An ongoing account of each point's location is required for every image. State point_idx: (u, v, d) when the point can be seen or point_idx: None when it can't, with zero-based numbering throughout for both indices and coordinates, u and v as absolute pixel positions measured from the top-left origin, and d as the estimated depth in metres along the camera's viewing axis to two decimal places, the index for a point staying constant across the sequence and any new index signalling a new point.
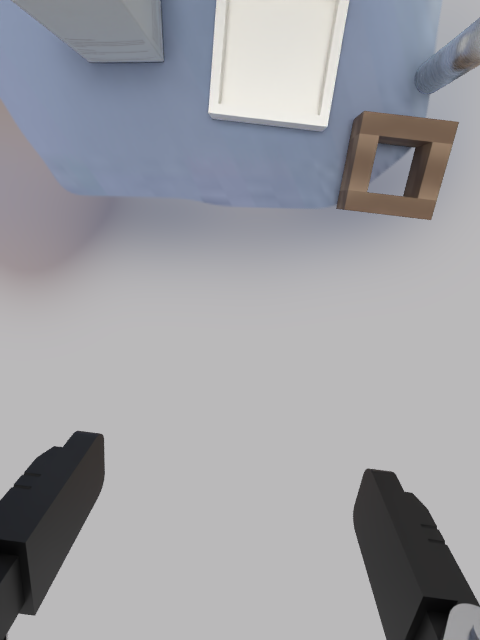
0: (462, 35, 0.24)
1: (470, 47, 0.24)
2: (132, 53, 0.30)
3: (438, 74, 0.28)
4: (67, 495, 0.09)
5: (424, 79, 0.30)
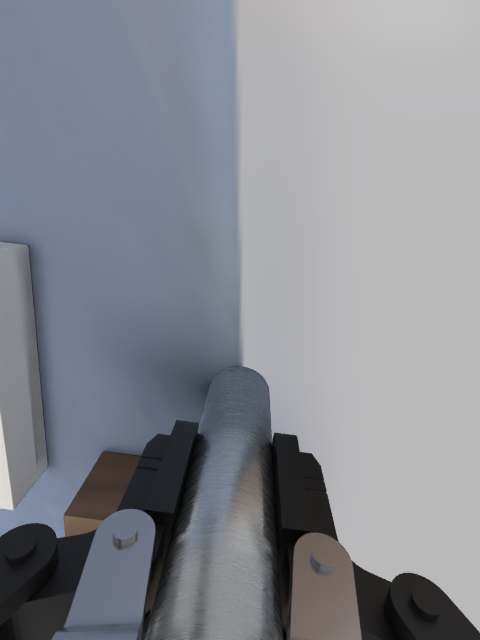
0: (168, 548, 0.08)
1: None
2: None
3: None
4: (186, 476, 0.10)
5: None
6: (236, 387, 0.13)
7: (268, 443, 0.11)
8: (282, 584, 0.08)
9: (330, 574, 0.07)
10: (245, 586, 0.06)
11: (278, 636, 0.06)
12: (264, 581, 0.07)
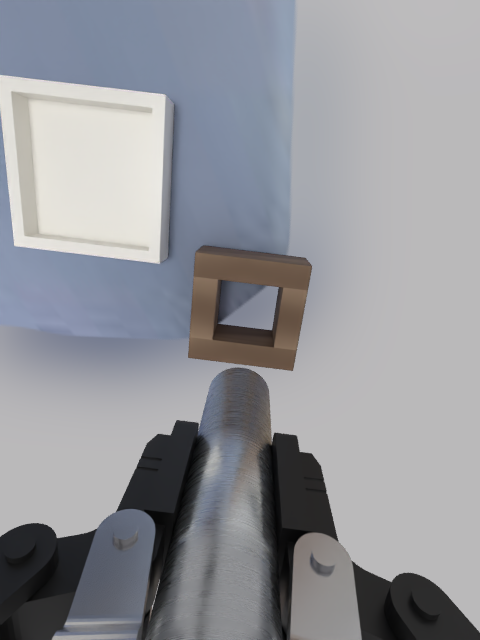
0: (168, 549, 0.08)
1: None
2: None
3: None
4: (186, 476, 0.10)
5: None
6: (236, 388, 0.13)
7: (268, 445, 0.11)
8: (282, 584, 0.08)
9: (330, 574, 0.07)
10: (245, 588, 0.07)
11: (277, 638, 0.06)
12: (263, 583, 0.07)
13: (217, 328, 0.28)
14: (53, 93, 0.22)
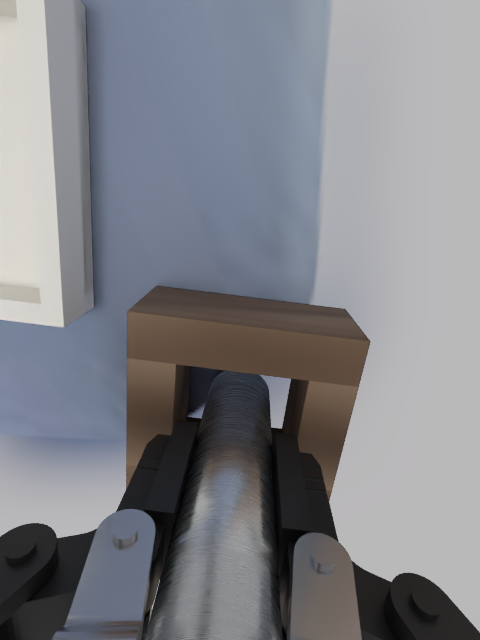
0: (168, 549, 0.08)
1: None
2: None
3: None
4: (186, 476, 0.10)
5: None
6: (236, 388, 0.13)
7: (268, 445, 0.11)
8: (282, 584, 0.08)
9: (330, 574, 0.07)
10: (245, 588, 0.07)
11: (277, 638, 0.06)
12: (262, 582, 0.07)
13: None
14: None
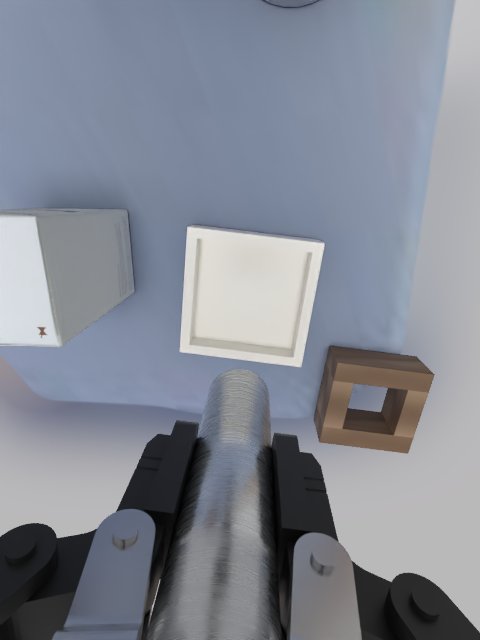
0: (168, 552, 0.08)
1: None
2: None
3: None
4: (186, 476, 0.10)
5: None
6: (236, 390, 0.13)
7: (267, 446, 0.11)
8: (282, 584, 0.08)
9: (330, 574, 0.07)
10: (244, 591, 0.07)
11: None
12: (262, 585, 0.07)
13: None
14: (231, 240, 0.27)
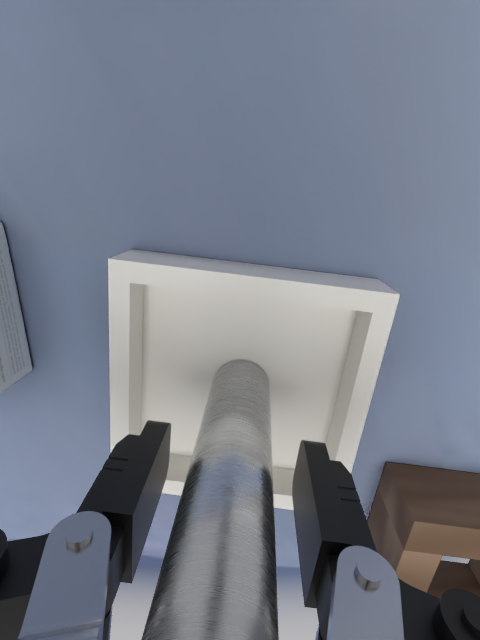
0: (176, 514, 0.09)
1: None
2: None
3: None
4: (152, 477, 0.09)
5: None
6: (238, 377, 0.14)
7: (267, 428, 0.12)
8: (321, 598, 0.08)
9: (377, 590, 0.07)
10: (244, 542, 0.07)
11: (272, 585, 0.07)
12: (260, 540, 0.08)
13: None
14: (202, 287, 0.13)
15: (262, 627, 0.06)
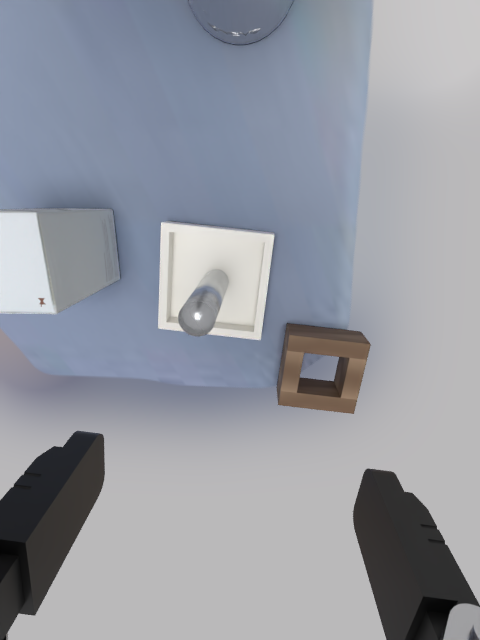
0: None
1: None
2: None
3: None
4: (67, 495, 0.09)
5: None
6: (213, 272, 0.34)
7: (223, 284, 0.32)
8: None
9: None
10: (210, 291, 0.27)
11: (217, 300, 0.27)
12: (215, 293, 0.28)
13: None
14: (198, 233, 0.33)
15: (213, 299, 0.26)
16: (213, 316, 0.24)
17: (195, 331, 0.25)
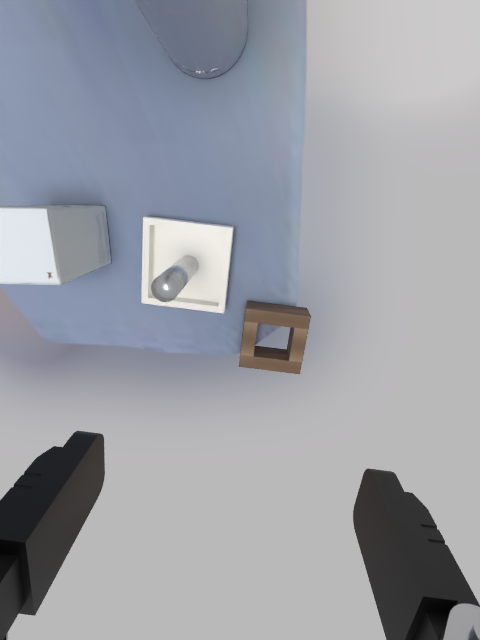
0: None
1: None
2: None
3: None
4: (67, 495, 0.09)
5: None
6: (185, 257, 0.42)
7: (191, 266, 0.40)
8: None
9: None
10: (177, 269, 0.36)
11: (183, 276, 0.36)
12: (181, 271, 0.36)
13: None
14: (172, 226, 0.41)
15: (178, 275, 0.35)
16: (177, 287, 0.33)
17: (164, 298, 0.33)
